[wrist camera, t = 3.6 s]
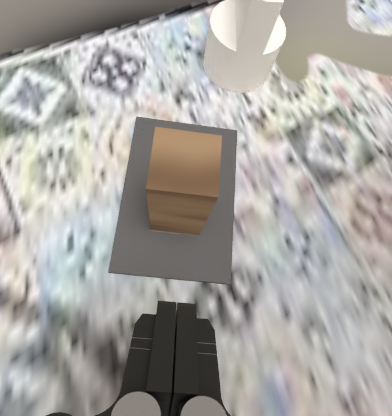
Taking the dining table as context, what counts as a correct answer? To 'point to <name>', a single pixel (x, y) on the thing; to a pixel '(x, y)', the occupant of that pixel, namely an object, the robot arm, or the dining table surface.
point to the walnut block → (182, 180)
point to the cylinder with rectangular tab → (243, 43)
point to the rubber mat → (171, 242)
